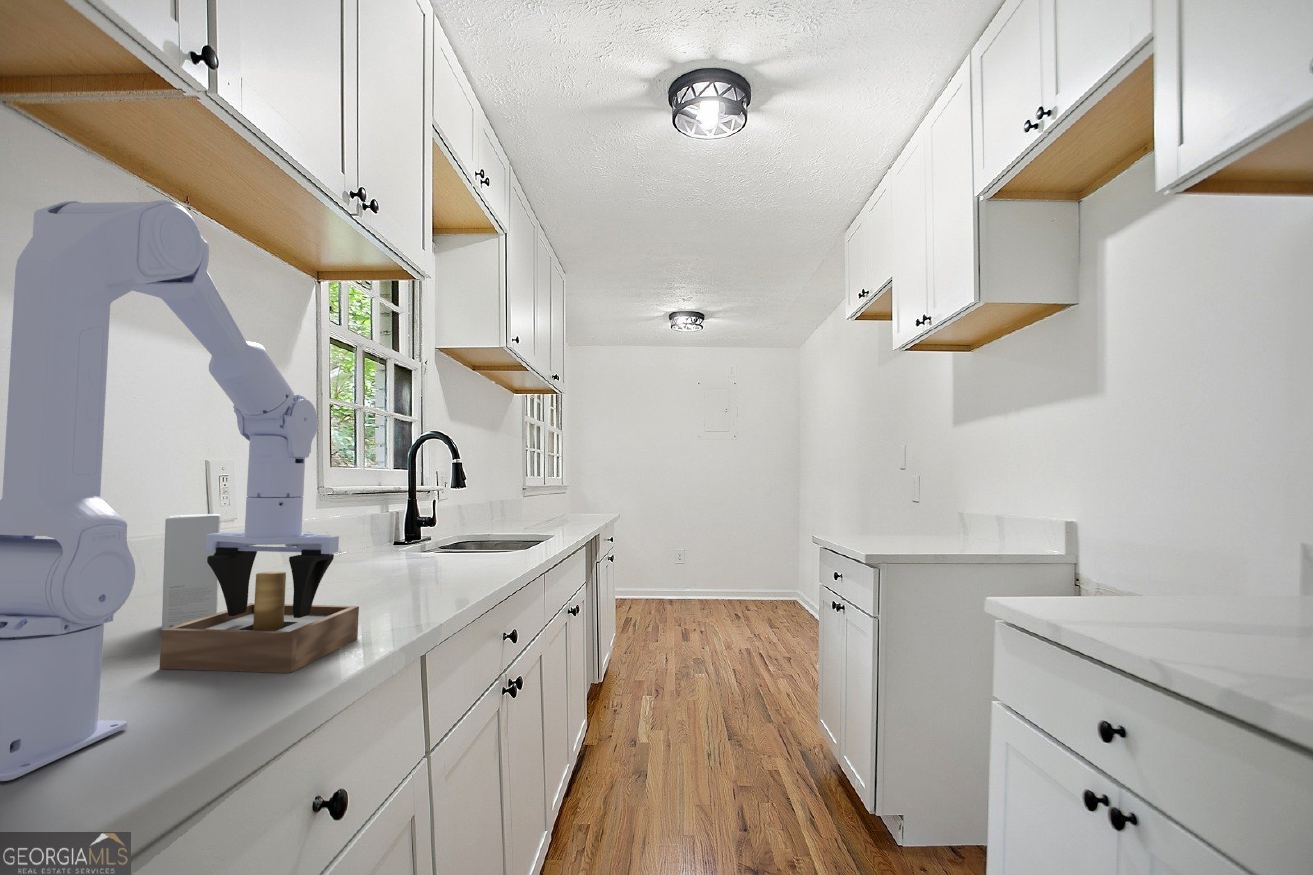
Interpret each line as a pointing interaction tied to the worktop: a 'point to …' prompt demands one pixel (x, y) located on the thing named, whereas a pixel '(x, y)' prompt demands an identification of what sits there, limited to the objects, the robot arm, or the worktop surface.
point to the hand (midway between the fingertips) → (269, 615)
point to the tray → (257, 640)
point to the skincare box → (188, 569)
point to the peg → (269, 601)
